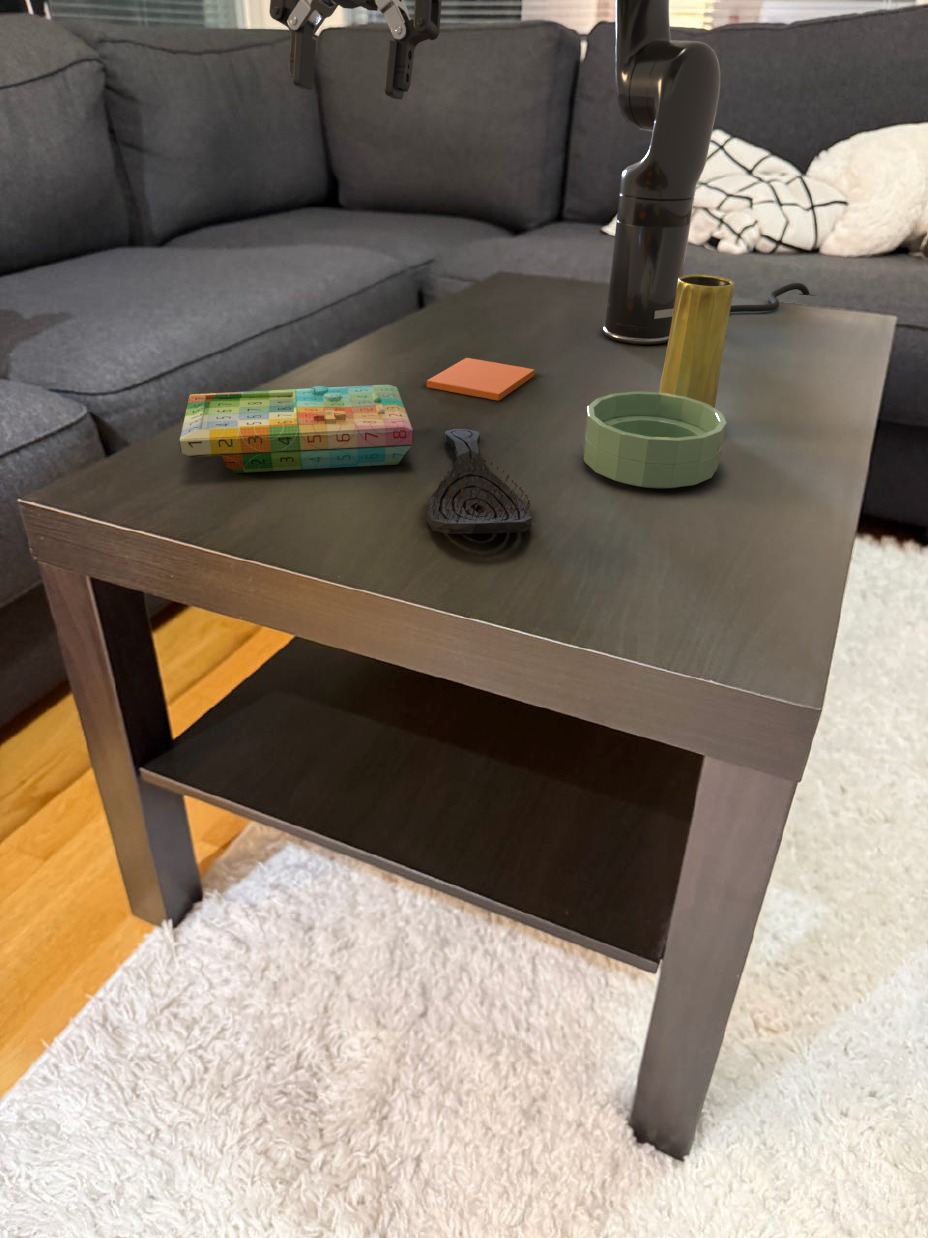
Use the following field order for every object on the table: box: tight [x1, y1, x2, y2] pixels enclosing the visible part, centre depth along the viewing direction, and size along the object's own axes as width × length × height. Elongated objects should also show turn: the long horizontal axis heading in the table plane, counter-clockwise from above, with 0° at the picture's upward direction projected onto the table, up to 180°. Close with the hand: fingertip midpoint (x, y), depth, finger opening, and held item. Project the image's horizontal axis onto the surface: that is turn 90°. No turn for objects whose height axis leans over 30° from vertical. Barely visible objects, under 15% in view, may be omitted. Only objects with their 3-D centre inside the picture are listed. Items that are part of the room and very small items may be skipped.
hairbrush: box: [426, 428, 533, 534], centre depth 75 cm, size 8×4×25 cm
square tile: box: [426, 357, 536, 402], centre depth 100 cm, size 10×9×1 cm
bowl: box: [582, 390, 727, 489], centre depth 79 cm, size 12×12×5 cm
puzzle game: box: [178, 384, 414, 474], centre depth 81 cm, size 12×5×20 cm
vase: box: [658, 274, 735, 409], centre depth 86 cm, size 6×6×14 cm
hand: (347, 92), depth 72 cm, fingers open, 8 cm apart
